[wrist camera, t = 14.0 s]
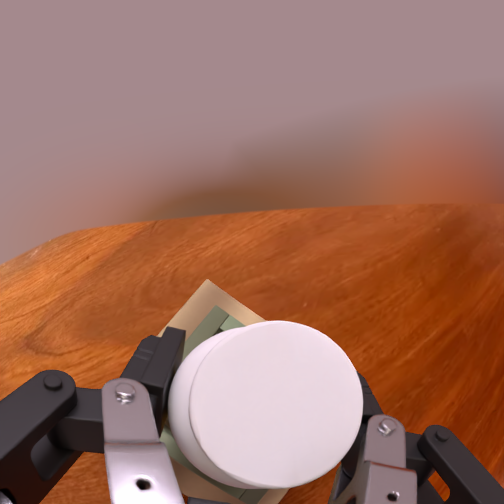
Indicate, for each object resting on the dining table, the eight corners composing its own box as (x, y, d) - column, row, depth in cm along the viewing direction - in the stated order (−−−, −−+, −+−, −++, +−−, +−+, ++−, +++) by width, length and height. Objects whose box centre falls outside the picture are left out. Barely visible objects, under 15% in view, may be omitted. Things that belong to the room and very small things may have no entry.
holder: (93, 417, 16) (66, 416, 12) (206, 285, 23) (208, 253, 19) (251, 526, 14) (265, 552, 10) (349, 382, 20) (382, 372, 16)
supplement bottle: (234, 479, 12) (284, 555, 4) (158, 408, 14) (98, 394, 5) (304, 408, 15) (421, 384, 6) (231, 342, 16) (270, 248, 8)
